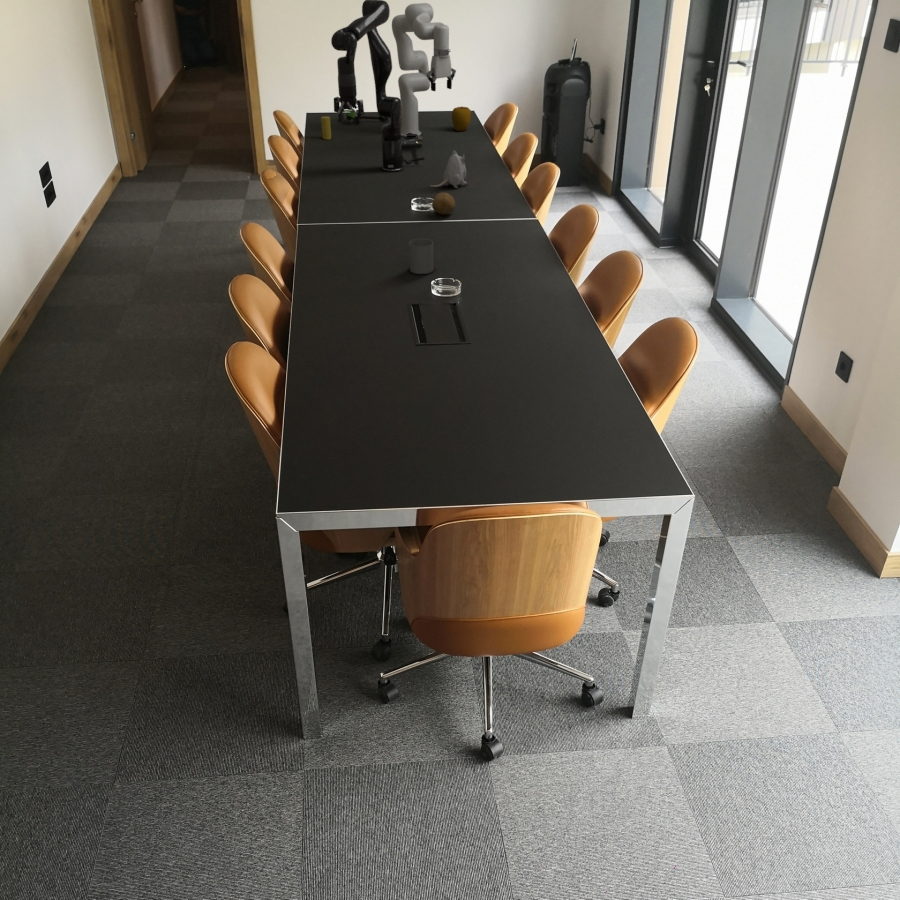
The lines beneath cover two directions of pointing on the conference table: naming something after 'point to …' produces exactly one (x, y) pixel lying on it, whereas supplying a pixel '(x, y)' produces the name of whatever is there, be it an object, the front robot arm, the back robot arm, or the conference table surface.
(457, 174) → the toy
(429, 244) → the cup
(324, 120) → the can
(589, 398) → the conference table surface
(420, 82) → the back robot arm
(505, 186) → the conference table surface
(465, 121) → the yellow rounded blob
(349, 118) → the scepter
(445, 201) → the potato
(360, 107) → the front robot arm
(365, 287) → the conference table surface
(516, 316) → the conference table surface
